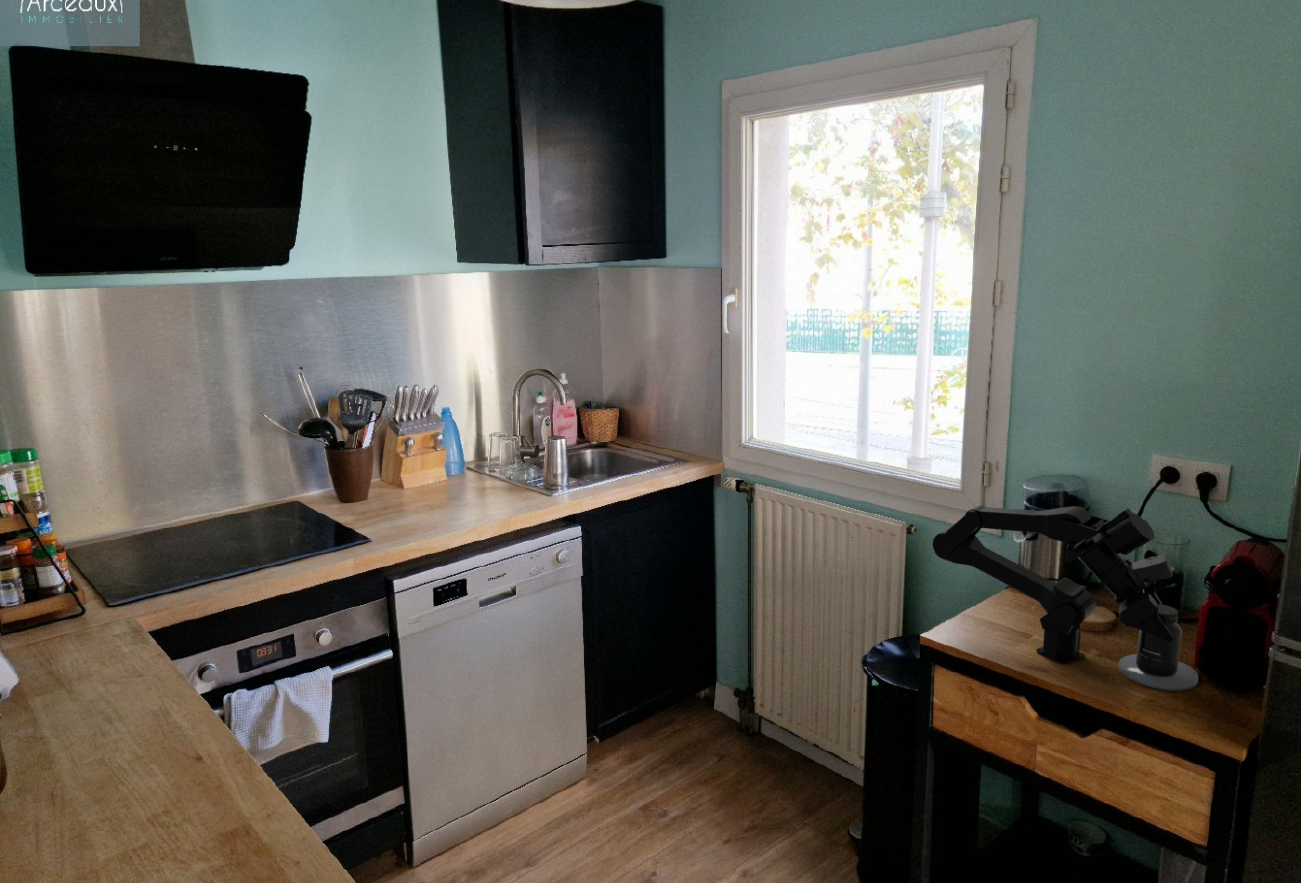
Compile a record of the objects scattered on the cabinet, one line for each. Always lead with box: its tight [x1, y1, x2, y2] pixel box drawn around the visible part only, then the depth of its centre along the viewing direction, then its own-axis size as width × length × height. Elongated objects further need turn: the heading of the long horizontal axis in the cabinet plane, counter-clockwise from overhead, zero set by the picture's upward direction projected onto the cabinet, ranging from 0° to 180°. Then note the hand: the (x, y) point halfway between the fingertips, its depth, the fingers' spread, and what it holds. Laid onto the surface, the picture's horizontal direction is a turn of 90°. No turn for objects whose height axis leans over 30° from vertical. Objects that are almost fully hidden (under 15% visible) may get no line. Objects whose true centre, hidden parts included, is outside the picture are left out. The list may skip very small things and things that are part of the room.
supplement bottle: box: [1136, 604, 1183, 677], centre depth 165 cm, size 7×7×12 cm
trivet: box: [1117, 653, 1199, 692], centre depth 166 cm, size 13×13×1 cm
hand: (1170, 630), depth 164 cm, fingers open, 9 cm apart
